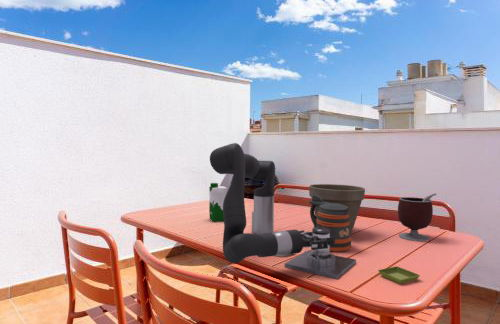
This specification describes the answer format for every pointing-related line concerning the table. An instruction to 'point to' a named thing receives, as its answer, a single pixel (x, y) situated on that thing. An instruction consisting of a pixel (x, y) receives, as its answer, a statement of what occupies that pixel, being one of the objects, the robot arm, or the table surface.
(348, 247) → the beer stein
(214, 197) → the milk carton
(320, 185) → the plant pot
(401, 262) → the table surface
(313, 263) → the hub plate
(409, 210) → the mate gourd
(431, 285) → the table surface
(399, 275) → the olive green shallow tray
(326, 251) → the glass jar with lid
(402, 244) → the table surface
